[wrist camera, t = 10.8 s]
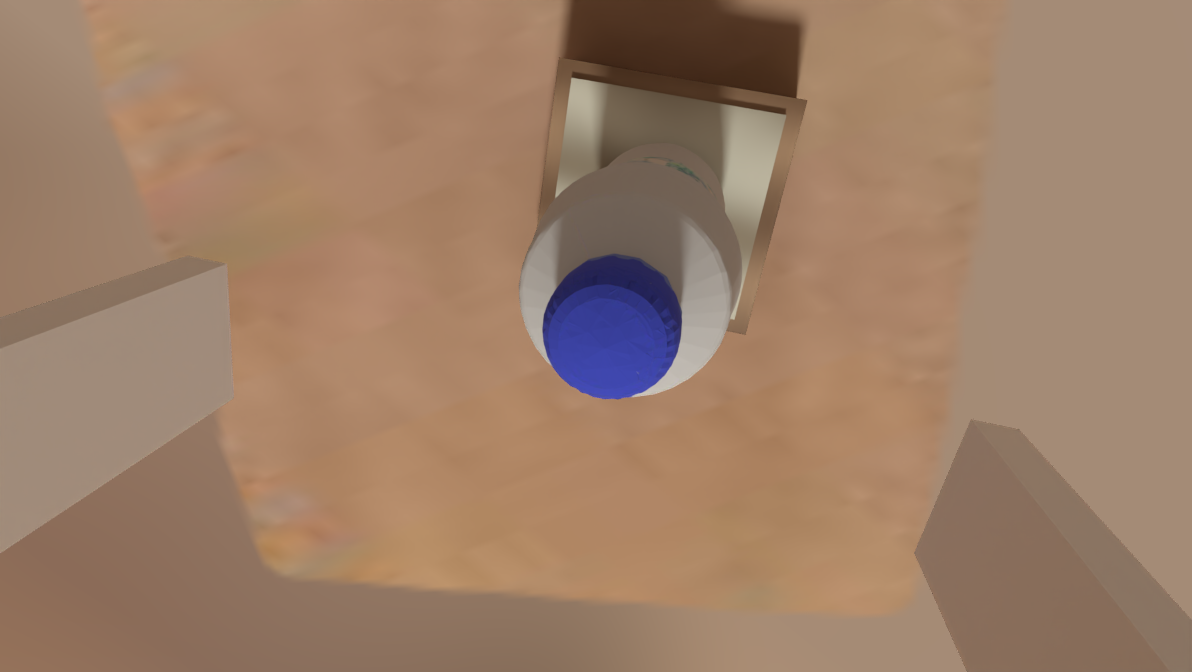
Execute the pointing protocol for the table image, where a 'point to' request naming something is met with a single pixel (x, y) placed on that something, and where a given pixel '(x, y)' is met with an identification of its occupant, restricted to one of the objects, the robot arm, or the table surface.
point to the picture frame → (691, 120)
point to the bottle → (633, 274)
